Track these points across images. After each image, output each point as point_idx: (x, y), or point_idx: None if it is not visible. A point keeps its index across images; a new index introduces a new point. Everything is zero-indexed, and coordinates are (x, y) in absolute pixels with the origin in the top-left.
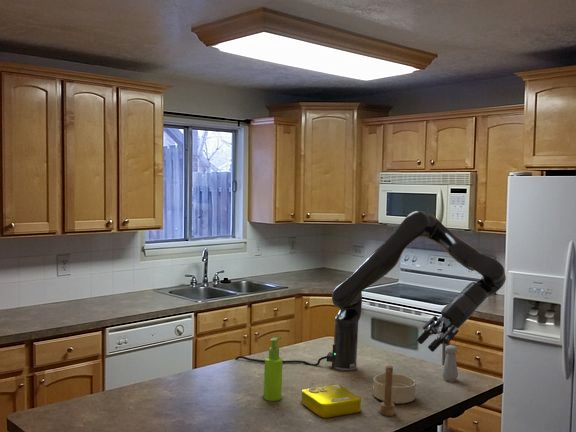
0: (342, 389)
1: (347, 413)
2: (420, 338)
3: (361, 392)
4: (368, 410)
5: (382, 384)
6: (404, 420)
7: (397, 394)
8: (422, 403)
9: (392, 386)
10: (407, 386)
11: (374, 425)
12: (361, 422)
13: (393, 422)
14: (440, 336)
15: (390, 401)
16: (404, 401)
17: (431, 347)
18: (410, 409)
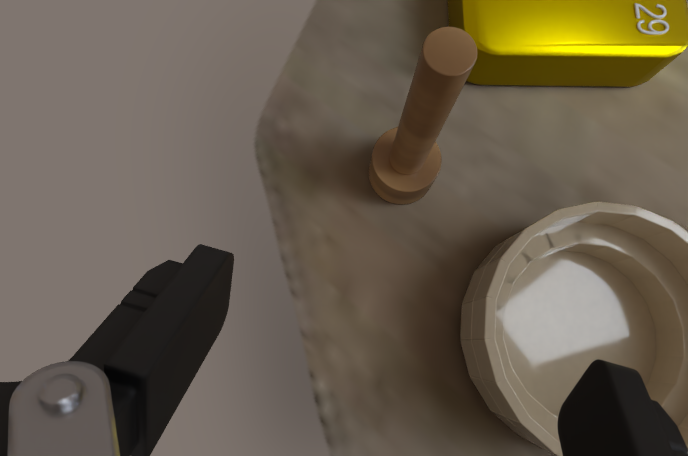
0: (610, 28)
1: (448, 10)
2: (603, 413)
3: (674, 219)
4: (459, 118)
5: (568, 211)
6: (303, 196)
7: (484, 271)
8: (446, 428)
9: (521, 245)
10: (492, 334)
11: (312, 51)
12: (358, 22)
13: (305, 138)
14: (11, 447)
15: (391, 155)
16: (463, 316)
17: (164, 264)
18: (400, 309)
